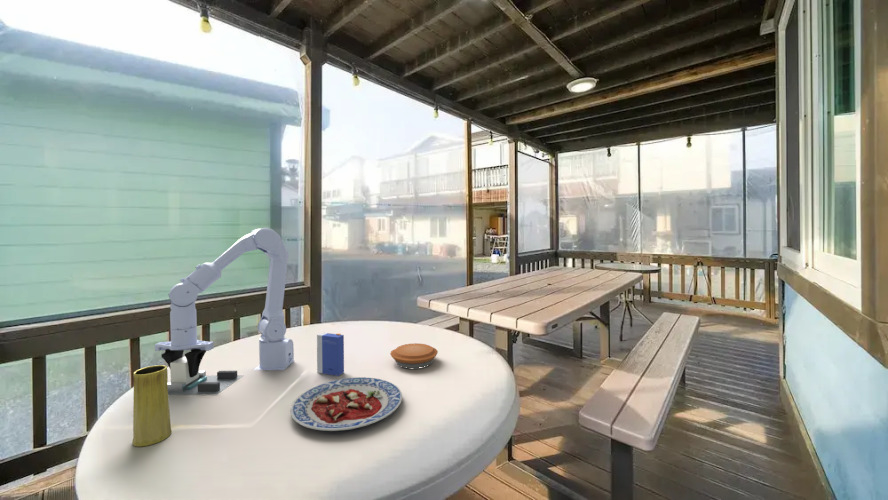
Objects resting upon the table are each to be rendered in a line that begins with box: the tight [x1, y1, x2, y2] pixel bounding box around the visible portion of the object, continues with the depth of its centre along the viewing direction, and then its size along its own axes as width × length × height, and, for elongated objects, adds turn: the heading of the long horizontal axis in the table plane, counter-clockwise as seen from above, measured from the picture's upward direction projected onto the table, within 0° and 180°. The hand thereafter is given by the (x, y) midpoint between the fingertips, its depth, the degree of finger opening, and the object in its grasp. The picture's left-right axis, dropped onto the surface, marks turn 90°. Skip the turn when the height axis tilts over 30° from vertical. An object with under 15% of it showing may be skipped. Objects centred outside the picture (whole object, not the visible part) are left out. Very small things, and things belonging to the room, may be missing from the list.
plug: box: [169, 355, 200, 385], centre depth 93 cm, size 4×5×6 cm
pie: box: [389, 342, 439, 368], centre depth 111 cm, size 15×16×5 cm
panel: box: [168, 374, 244, 396], centre depth 93 cm, size 16×12×1 cm
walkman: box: [316, 332, 345, 377], centre depth 102 cm, size 8×3×12 cm, turn 70°
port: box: [168, 370, 207, 392], centre depth 93 cm, size 7×9×2 cm
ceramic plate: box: [290, 376, 403, 432], centre depth 82 cm, size 26×26×3 cm
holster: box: [198, 370, 238, 392], centre depth 93 cm, size 5×9×2 cm, turn 1°
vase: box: [131, 364, 172, 448], centre depth 69 cm, size 6×6×14 cm
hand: (185, 375), depth 93 cm, fingers closed on plug, 4 cm apart
